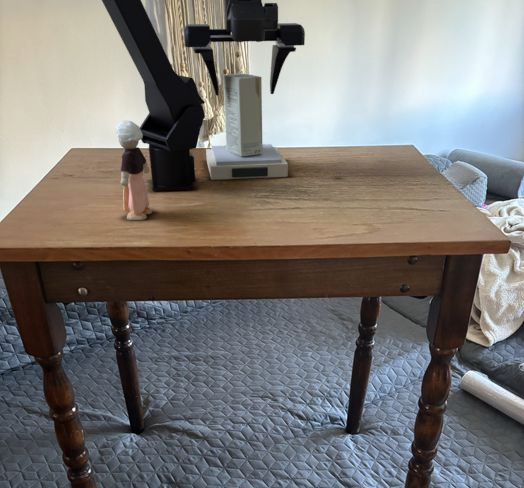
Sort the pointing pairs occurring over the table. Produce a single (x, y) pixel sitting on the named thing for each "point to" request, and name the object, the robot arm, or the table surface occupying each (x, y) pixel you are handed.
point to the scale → (246, 164)
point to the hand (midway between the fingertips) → (244, 94)
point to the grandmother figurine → (133, 171)
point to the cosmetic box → (243, 114)
